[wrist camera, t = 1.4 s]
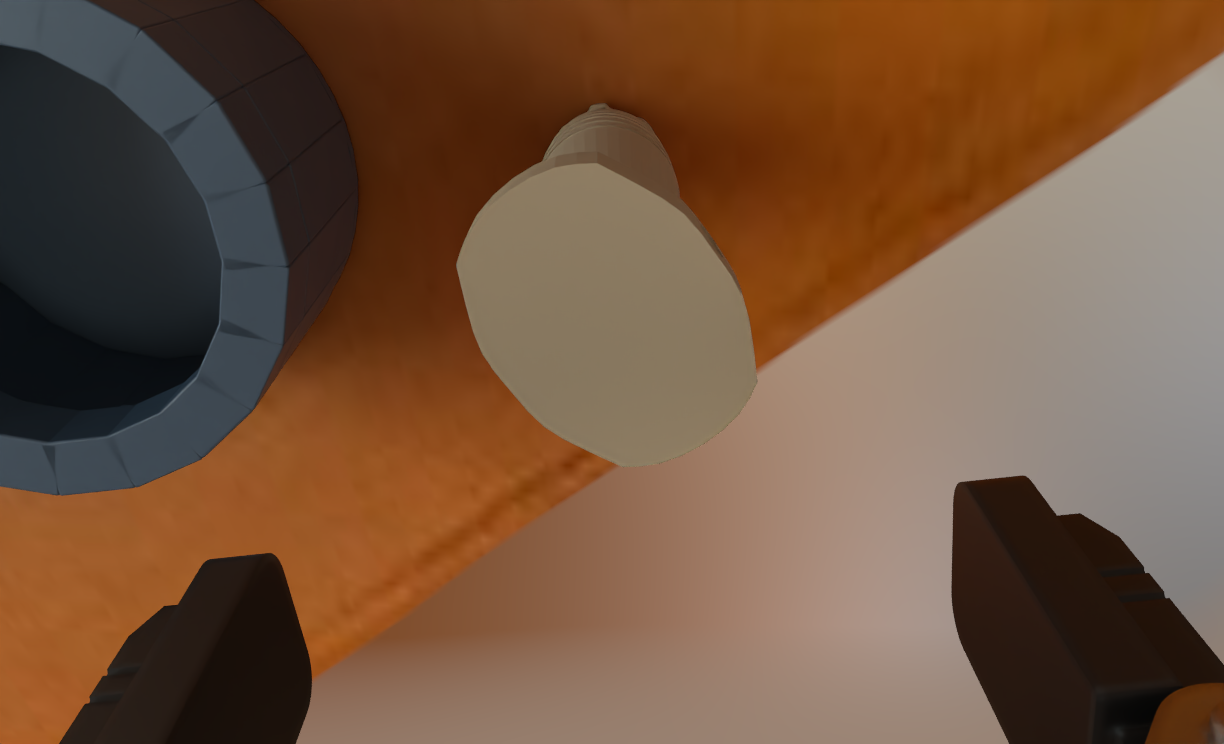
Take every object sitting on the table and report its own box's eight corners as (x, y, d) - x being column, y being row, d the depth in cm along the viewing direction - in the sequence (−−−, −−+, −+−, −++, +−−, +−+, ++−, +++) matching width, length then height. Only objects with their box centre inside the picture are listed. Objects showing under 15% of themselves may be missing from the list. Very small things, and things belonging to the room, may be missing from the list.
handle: (604, 269, 35) (606, 504, 21) (486, 114, 33) (405, 266, 19) (723, 187, 34) (805, 380, 20) (609, 21, 32) (614, 112, 18)
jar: (-149, -23, 31) (-397, 2, 23) (302, -82, 31) (200, -76, 23) (15, 388, 37) (-142, 518, 29) (397, 346, 36) (341, 466, 28)
